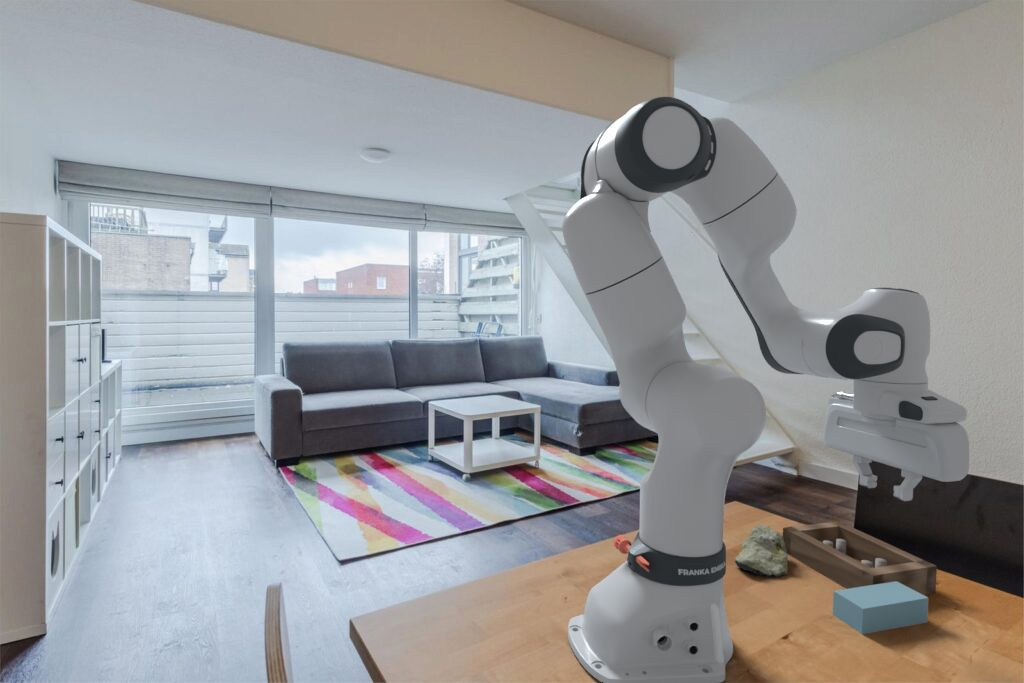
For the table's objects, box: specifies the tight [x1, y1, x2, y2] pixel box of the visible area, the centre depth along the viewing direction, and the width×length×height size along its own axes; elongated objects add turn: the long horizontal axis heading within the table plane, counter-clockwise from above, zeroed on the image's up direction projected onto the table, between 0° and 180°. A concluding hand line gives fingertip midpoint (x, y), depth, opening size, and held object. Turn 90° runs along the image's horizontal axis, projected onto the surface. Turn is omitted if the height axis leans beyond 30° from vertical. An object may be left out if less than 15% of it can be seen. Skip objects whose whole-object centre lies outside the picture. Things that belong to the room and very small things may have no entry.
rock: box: [734, 524, 789, 578], centre depth 96 cm, size 11×6×10 cm
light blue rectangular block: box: [832, 581, 930, 635], centre depth 79 cm, size 12×5×4 cm, turn 104°
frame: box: [782, 520, 938, 596], centre depth 94 cm, size 13×19×4 cm
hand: (884, 492), depth 78 cm, fingers open, 4 cm apart
